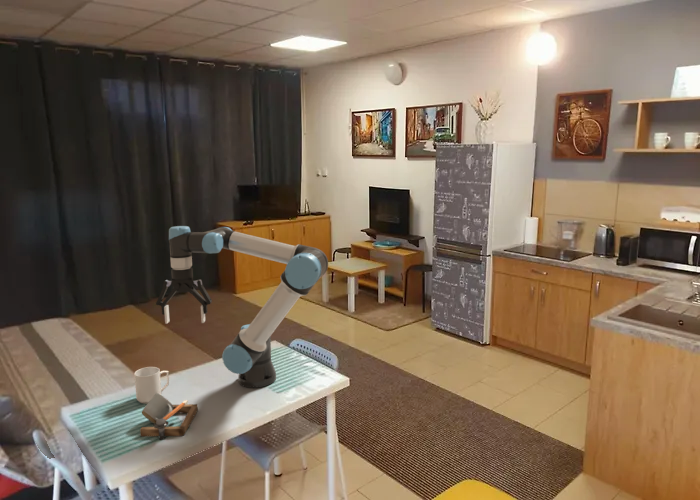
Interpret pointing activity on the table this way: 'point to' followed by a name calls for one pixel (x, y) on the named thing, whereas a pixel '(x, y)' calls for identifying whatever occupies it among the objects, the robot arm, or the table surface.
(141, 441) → the table surface
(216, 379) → the table surface
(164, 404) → the ceramic mug
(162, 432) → the dark grey ring
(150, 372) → the mug
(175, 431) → the brown wooden flat frame
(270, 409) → the table surface
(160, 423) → the orange long spoon
